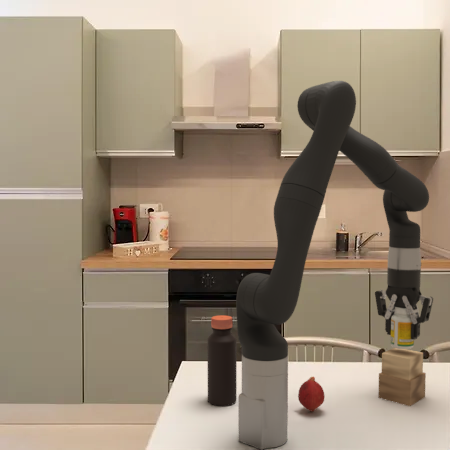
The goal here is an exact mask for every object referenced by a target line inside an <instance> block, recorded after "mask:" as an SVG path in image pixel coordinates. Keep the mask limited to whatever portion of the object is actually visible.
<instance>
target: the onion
mask: <svg viewBox="0 0 450 450" xmlns="http://www.w3.org/2000/svg"><path fill="white" fill-rule="evenodd" d="M297 397H298V401H299V403H300V405H302V406H303V408H304V409H306V410H308V411H309V412H311V413H312V412H315V411H316V410H317V409H319V408H320V407H321V406H322V405H323V404H324V402H325V392H324V389H323V386H322V385H321V384H320V383H318V381H316V377H315V376H311V377H309V378H308V379H307V380H306V381H304V382H303V383H302V384H301V385H300V387H299V390H298V395H297Z"/></svg>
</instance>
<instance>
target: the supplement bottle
mask: <svg viewBox="0 0 450 450" xmlns="http://www.w3.org/2000/svg"><path fill="white" fill-rule="evenodd" d="M394 311H395V314H394V315H392V317H391V335H390V339H389V340H390V343H389V344H390V346H391V347H392V348H398V349H407V350H412V349H413V348H414V346H415V340H413V339H411V324H412V320H411V317H410V315H409V314H408V312H407V309H406V308H400V307H395V309H394Z"/></svg>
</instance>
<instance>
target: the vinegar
mask: <svg viewBox="0 0 450 450" xmlns="http://www.w3.org/2000/svg"><path fill="white" fill-rule="evenodd" d="M210 319H211V321H210V322H211V325H210V326H211V331H212V333H211V334H210V335H209V336H208V338H207V401H208V403H210V405H212V406H217V407H226V406H231V405H234V404H235V403H236V402H237V338H236V336H235V335H234V334H233V333H232V330H233V316H230V315H213V316H212V317H211V318H210Z"/></svg>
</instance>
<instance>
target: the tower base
mask: <svg viewBox="0 0 450 450" xmlns="http://www.w3.org/2000/svg"><path fill="white" fill-rule="evenodd" d="M426 375H427V373H426V372H424V371H423V373H422V374H420V375H419V376H417V377H415V378H413V379H411V380H405V379H401V378H397V377H393V376H389V375H385V374H382V371H381V372H380V373H378V398H379V399H381V398H382V400H385V399H386V401H388V402H389V401H390V402H392V401H393V403H396V402H397V404H400V405H403V404H404V405H403V406H408V407H412V406H413V405H415V404H416V403H418V402H419V401H422V400H423V399H424V398H426Z"/></svg>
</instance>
